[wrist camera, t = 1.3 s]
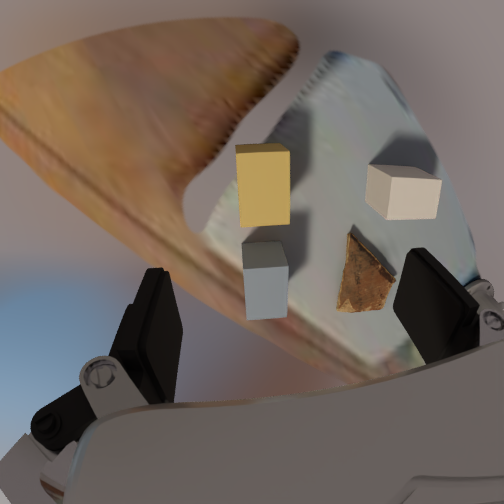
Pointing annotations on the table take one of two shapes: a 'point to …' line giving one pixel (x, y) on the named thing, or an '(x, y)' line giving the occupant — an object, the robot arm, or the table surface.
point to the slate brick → (265, 280)
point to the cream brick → (402, 192)
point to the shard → (362, 280)
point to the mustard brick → (263, 184)
